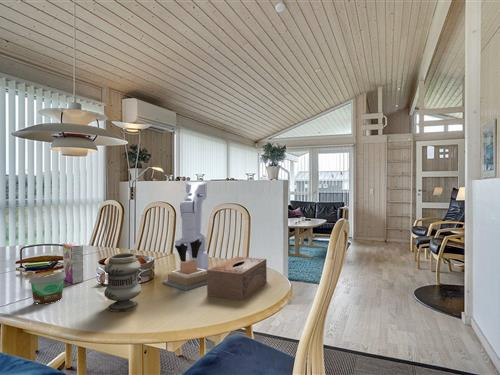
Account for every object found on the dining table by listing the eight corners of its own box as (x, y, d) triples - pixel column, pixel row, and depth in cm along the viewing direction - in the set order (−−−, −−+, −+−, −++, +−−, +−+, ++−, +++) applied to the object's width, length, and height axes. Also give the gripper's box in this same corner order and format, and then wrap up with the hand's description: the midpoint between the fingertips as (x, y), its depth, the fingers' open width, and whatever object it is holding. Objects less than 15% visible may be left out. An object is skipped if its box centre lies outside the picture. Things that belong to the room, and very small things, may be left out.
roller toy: (103, 281, 146) (102, 268, 146) (117, 281, 146) (117, 268, 146) (98, 284, 142) (98, 271, 142) (113, 284, 142) (113, 271, 142)
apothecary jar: (104, 315, 107) (103, 260, 107) (104, 303, 118) (103, 253, 118) (143, 309, 112) (142, 256, 112) (140, 298, 123) (139, 250, 123)
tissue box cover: (241, 301, 120) (241, 273, 120) (207, 296, 126) (206, 270, 126) (266, 281, 144) (266, 258, 144) (236, 278, 150) (236, 256, 150)
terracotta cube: (188, 271, 147) (187, 259, 147) (196, 272, 145) (196, 261, 145) (180, 273, 143) (180, 262, 143) (189, 275, 140) (189, 263, 140)
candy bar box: (62, 279, 150) (62, 243, 150) (74, 277, 154) (74, 242, 154) (71, 284, 143) (71, 246, 142) (83, 282, 146) (83, 244, 146)
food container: (37, 308, 115) (37, 279, 115) (29, 305, 118) (28, 277, 118) (72, 297, 125) (72, 271, 125) (63, 295, 129) (63, 269, 129)
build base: (191, 275, 155) (191, 264, 155) (215, 281, 144) (215, 270, 144) (162, 283, 143) (162, 271, 143) (186, 290, 132) (186, 278, 132)
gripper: (192, 226, 152) (192, 255, 152) (169, 229, 139) (170, 262, 139) (204, 226, 148) (204, 257, 148) (182, 230, 136) (183, 263, 136)
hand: (188, 259), depth 144 cm, fingers open, 7 cm apart
